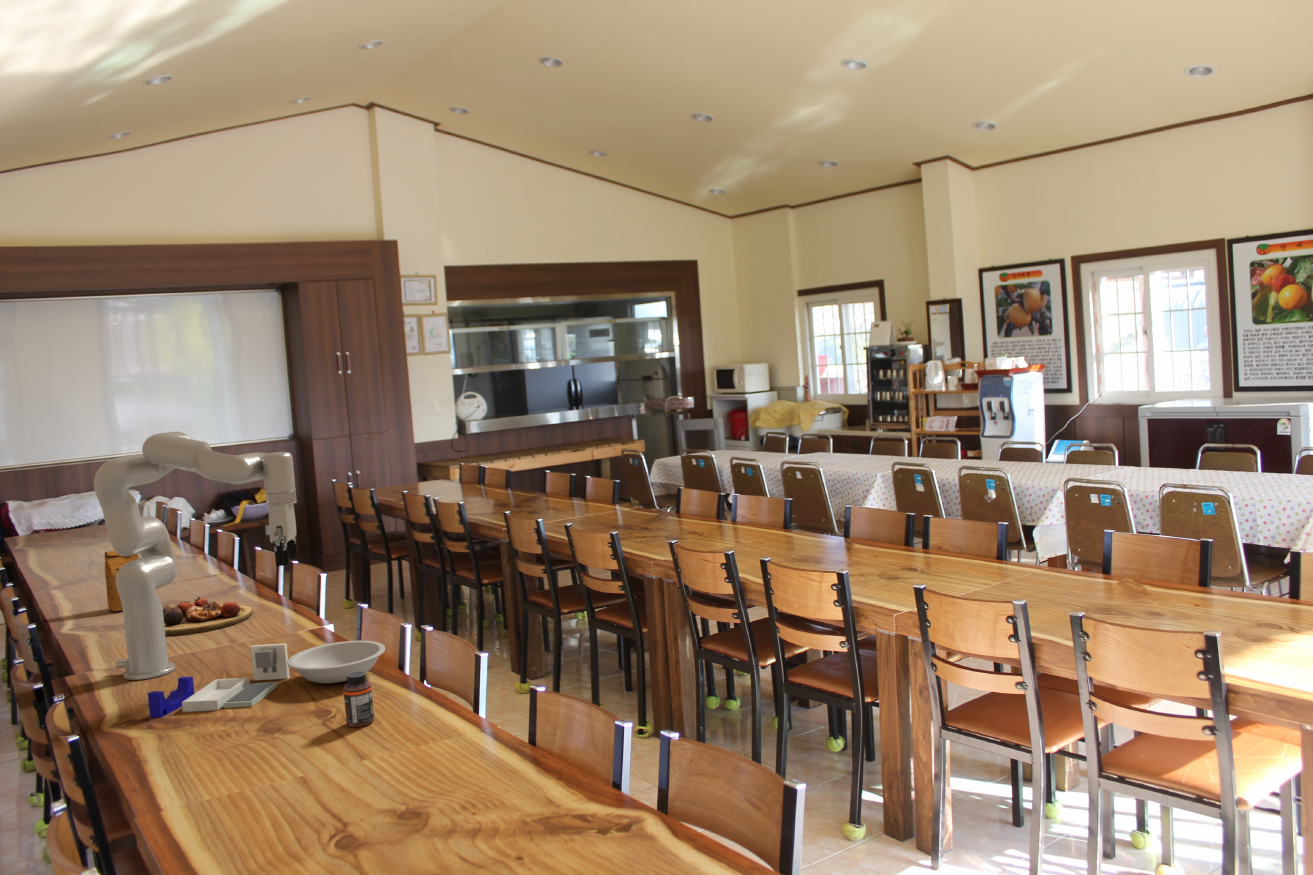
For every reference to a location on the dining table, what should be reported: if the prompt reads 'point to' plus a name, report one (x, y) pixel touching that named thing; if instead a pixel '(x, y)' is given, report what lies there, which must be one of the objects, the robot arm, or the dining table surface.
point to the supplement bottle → (358, 700)
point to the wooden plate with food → (202, 616)
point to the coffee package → (114, 577)
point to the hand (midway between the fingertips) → (287, 561)
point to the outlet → (270, 661)
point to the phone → (250, 695)
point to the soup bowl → (336, 660)
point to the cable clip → (170, 698)
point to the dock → (214, 694)
